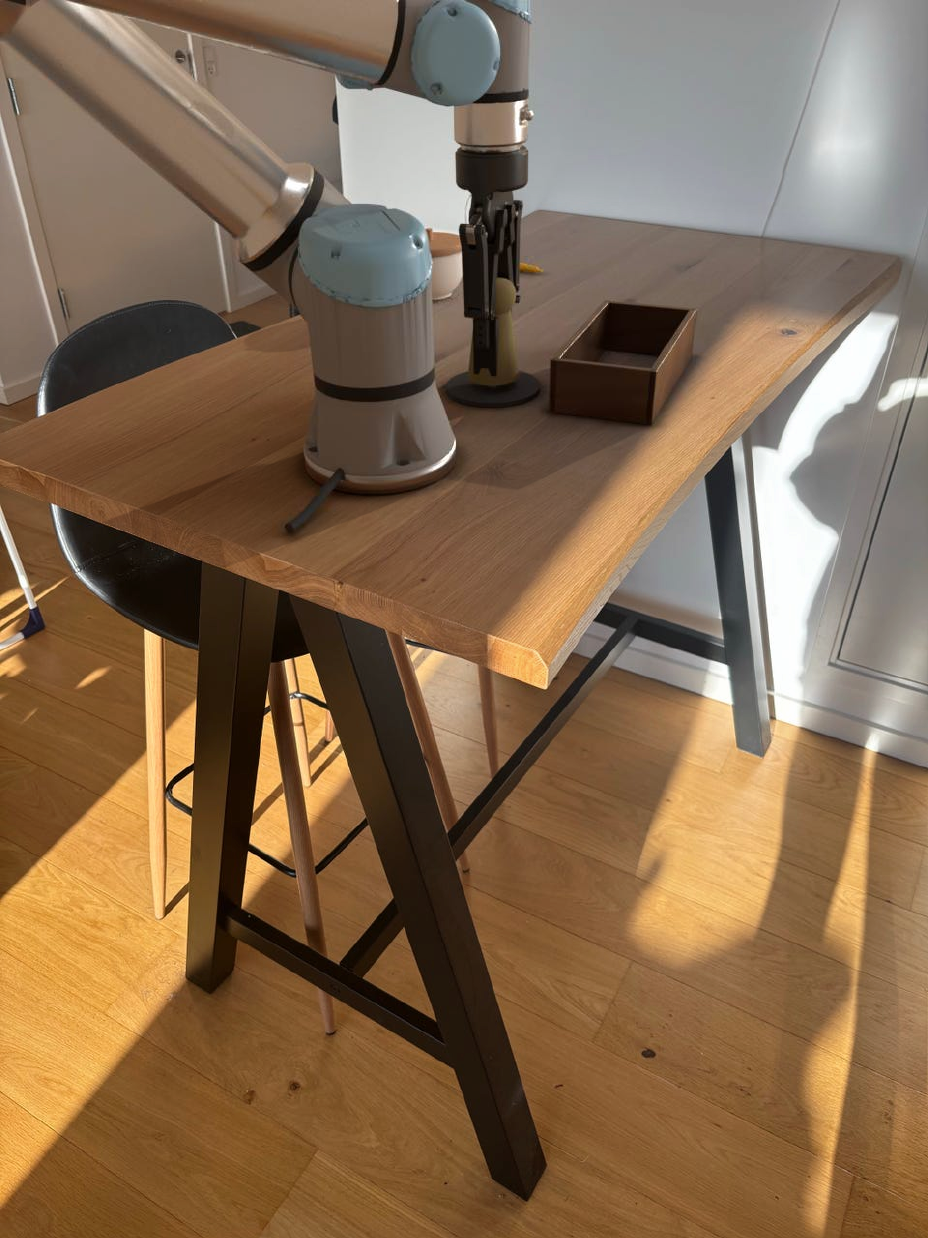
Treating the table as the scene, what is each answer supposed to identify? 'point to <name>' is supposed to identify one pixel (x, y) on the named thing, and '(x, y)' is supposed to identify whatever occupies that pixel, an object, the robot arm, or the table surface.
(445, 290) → the trinket box
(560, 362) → the box
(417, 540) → the table surface
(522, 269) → the multicoloured piece
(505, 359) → the cork
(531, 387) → the coaster
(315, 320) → the robot arm
